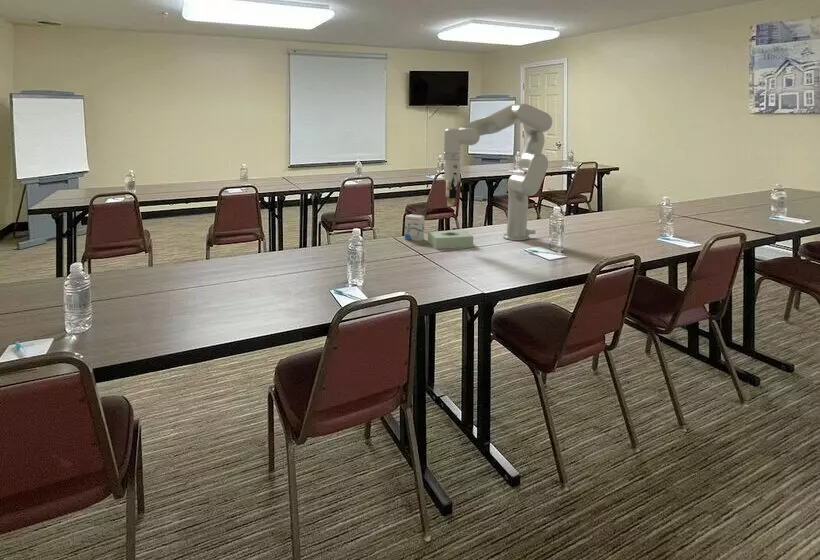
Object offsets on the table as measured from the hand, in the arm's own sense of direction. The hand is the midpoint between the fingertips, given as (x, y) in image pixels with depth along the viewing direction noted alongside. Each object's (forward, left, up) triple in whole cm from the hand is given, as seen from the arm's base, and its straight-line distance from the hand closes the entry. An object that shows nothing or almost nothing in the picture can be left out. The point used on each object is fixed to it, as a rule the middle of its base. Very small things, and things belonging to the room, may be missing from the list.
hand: (451, 196), depth 252 cm
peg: (0, 0, -4) cm, 4 cm away
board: (0, 0, -22) cm, 22 cm away
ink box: (+14, -14, -23) cm, 30 cm away
